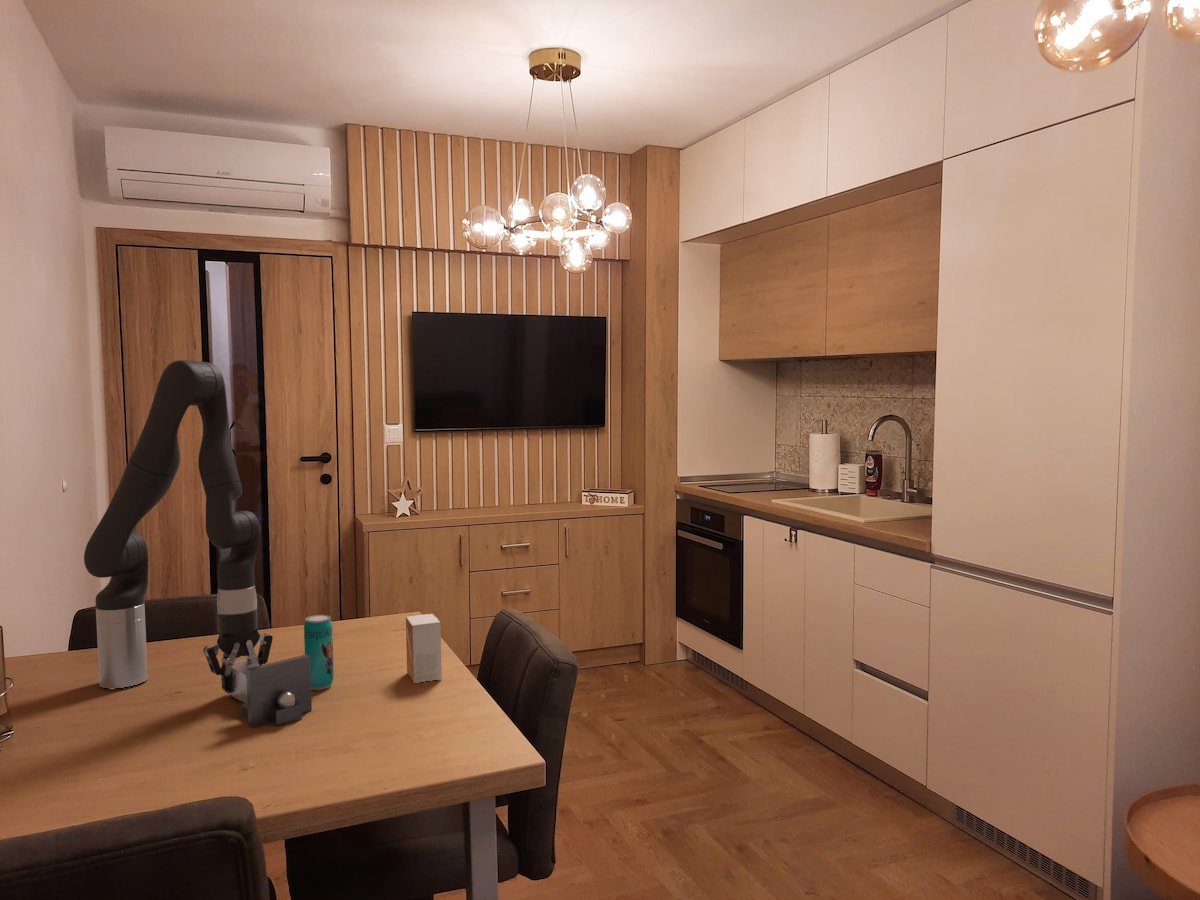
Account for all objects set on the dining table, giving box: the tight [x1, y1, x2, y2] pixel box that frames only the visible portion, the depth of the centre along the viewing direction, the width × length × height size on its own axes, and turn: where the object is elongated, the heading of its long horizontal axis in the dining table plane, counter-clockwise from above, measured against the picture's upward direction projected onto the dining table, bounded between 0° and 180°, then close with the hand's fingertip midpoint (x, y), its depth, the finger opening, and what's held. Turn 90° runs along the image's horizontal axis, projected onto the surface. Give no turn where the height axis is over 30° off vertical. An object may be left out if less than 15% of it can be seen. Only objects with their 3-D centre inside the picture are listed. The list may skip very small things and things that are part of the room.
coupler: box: [239, 654, 313, 729], centre depth 165 cm, size 12×12×11 cm
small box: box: [405, 613, 443, 684], centre depth 187 cm, size 8×6×13 cm
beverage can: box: [303, 614, 335, 691], centre depth 181 cm, size 6×6×15 cm
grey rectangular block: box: [226, 658, 259, 704], centre depth 174 cm, size 13×4×6 cm, turn 46°
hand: (240, 688), depth 177 cm, fingers closed on grey rectangular block, 4 cm apart
